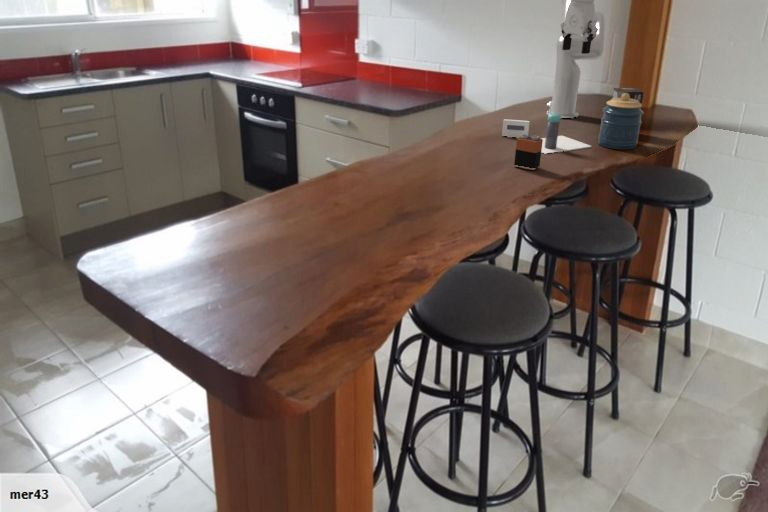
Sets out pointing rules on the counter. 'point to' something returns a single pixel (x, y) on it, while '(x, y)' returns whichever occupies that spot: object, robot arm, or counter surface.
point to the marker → (552, 131)
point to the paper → (564, 145)
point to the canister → (620, 123)
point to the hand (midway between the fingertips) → (575, 51)
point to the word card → (515, 128)
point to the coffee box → (633, 93)
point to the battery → (528, 151)
